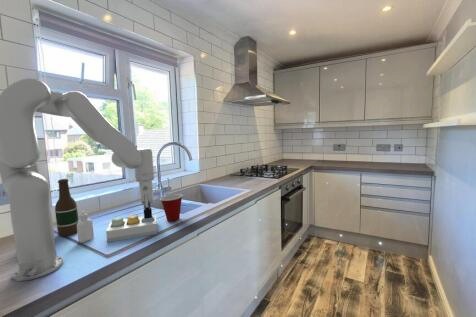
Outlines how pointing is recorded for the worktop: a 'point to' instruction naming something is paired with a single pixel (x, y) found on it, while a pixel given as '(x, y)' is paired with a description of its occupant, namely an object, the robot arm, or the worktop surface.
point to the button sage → (117, 222)
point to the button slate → (147, 219)
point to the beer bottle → (66, 211)
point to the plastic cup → (172, 206)
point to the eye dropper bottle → (85, 228)
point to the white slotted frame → (131, 230)
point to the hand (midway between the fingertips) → (148, 217)
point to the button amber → (133, 220)
